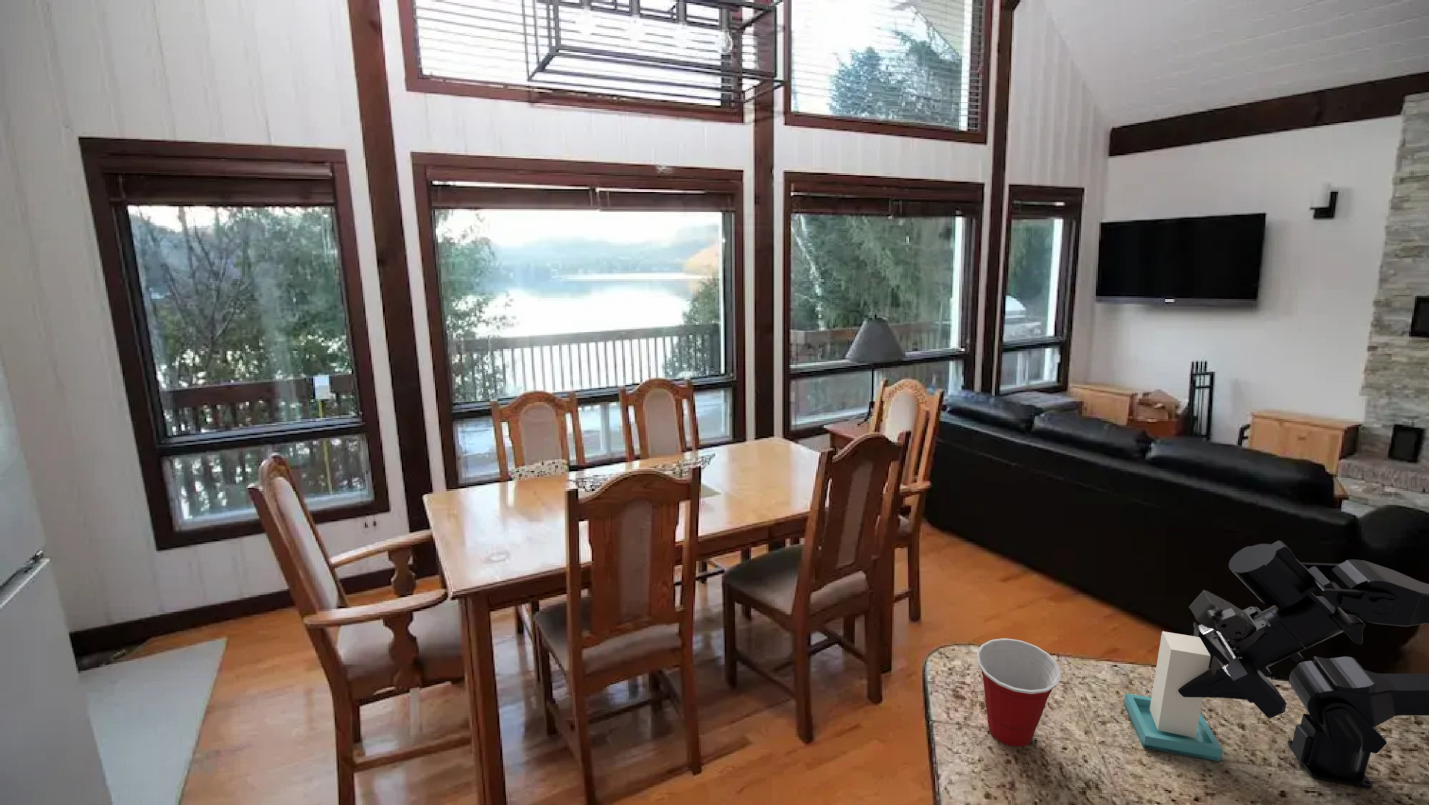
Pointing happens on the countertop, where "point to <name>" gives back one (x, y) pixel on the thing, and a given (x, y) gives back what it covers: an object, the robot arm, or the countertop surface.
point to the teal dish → (1170, 742)
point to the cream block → (1178, 683)
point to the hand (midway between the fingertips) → (1175, 682)
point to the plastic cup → (1015, 687)
